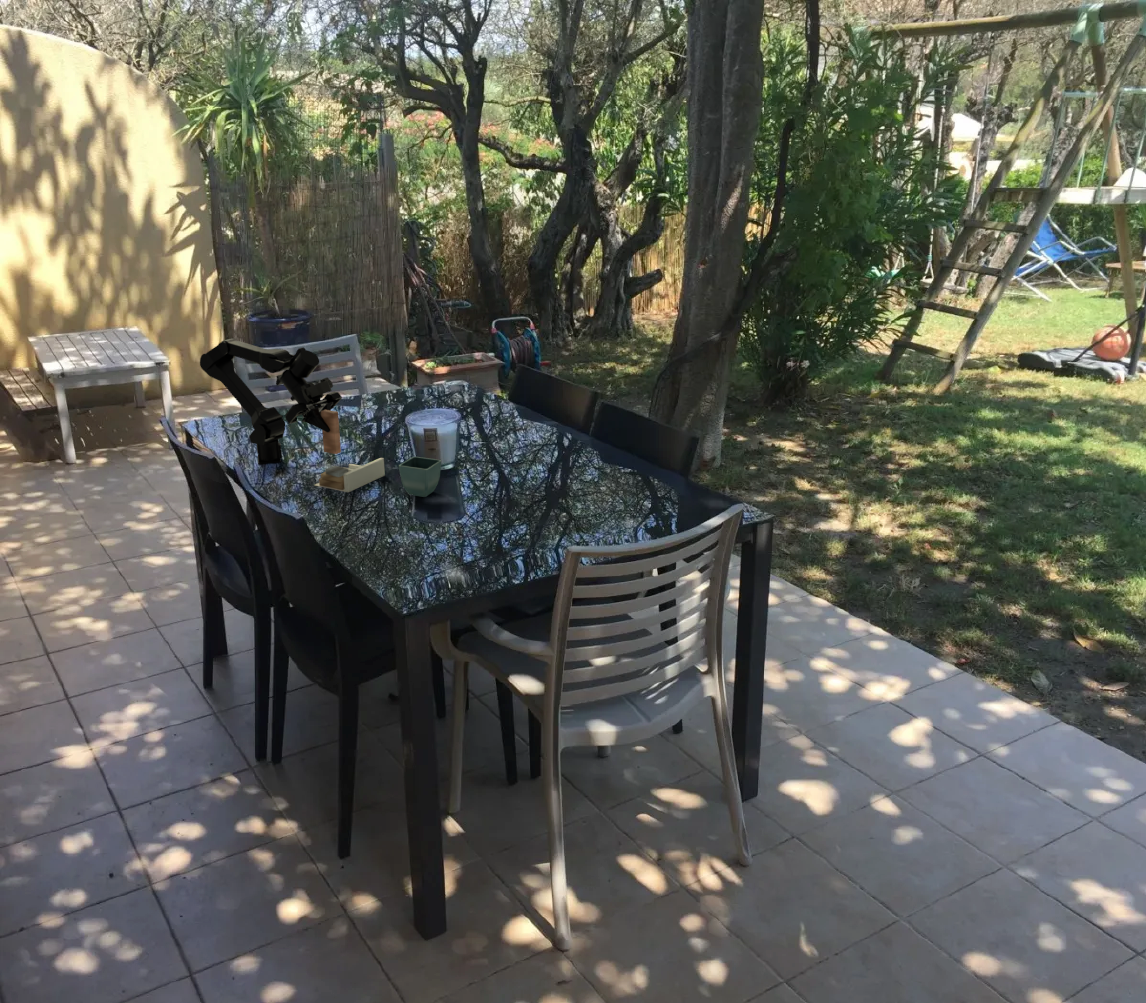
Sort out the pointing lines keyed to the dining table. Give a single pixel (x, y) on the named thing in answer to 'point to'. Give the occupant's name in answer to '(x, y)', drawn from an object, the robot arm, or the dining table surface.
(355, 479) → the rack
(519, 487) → the dining table surface
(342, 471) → the offcut stack
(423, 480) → the flower pot
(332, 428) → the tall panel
